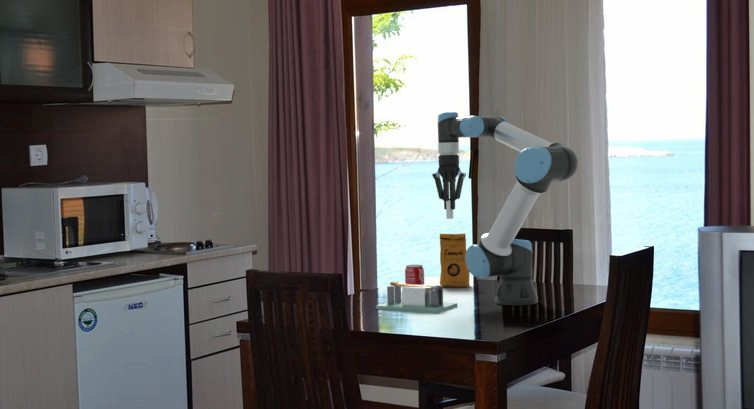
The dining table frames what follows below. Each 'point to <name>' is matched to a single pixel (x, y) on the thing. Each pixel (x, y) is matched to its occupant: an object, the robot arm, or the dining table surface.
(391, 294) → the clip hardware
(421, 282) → the soda can
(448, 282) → the coffee package
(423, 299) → the heat sink
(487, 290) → the dining table surface
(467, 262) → the robot arm
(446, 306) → the board
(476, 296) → the dining table surface
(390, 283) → the strap
